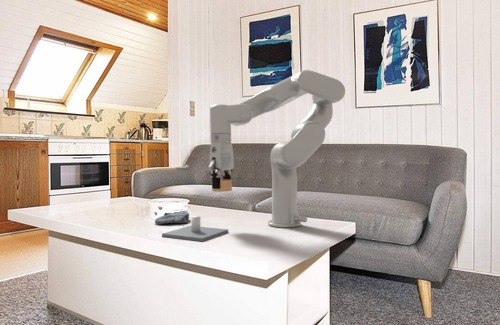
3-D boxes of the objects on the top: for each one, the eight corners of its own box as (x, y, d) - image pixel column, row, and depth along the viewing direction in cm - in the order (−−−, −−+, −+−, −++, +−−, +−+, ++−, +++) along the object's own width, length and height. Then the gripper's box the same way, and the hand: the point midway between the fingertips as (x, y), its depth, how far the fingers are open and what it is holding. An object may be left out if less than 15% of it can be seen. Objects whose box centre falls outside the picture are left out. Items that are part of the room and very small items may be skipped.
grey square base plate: (228, 232, 140) (228, 215, 140) (202, 241, 126) (202, 222, 125) (190, 228, 147) (190, 212, 147) (162, 236, 133) (161, 218, 133)
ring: (234, 189, 148) (234, 179, 148) (225, 191, 142) (224, 180, 142) (219, 189, 151) (218, 178, 151) (209, 191, 145) (208, 180, 145)
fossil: (153, 226, 153) (153, 216, 153) (160, 218, 171) (160, 209, 170) (187, 226, 154) (187, 216, 154) (191, 218, 171) (191, 208, 171)
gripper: (216, 138, 137) (218, 190, 137) (241, 139, 152) (242, 185, 153) (198, 138, 140) (199, 189, 141) (224, 139, 156) (225, 185, 156)
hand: (221, 187), depth 147 cm, fingers closed on ring, 6 cm apart
